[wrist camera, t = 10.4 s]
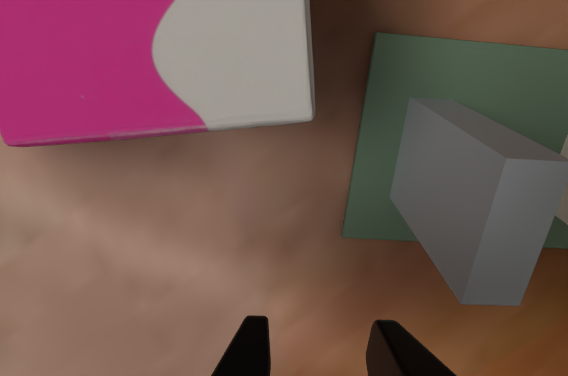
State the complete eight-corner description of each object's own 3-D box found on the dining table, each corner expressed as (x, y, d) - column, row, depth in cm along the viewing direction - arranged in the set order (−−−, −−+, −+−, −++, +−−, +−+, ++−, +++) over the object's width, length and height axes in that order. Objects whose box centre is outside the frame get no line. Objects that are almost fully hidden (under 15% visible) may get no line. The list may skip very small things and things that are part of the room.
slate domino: (428, 198, 21) (519, 305, 14) (389, 197, 21) (460, 304, 13) (452, 99, 19) (575, 162, 12) (409, 96, 19) (506, 158, 11)
